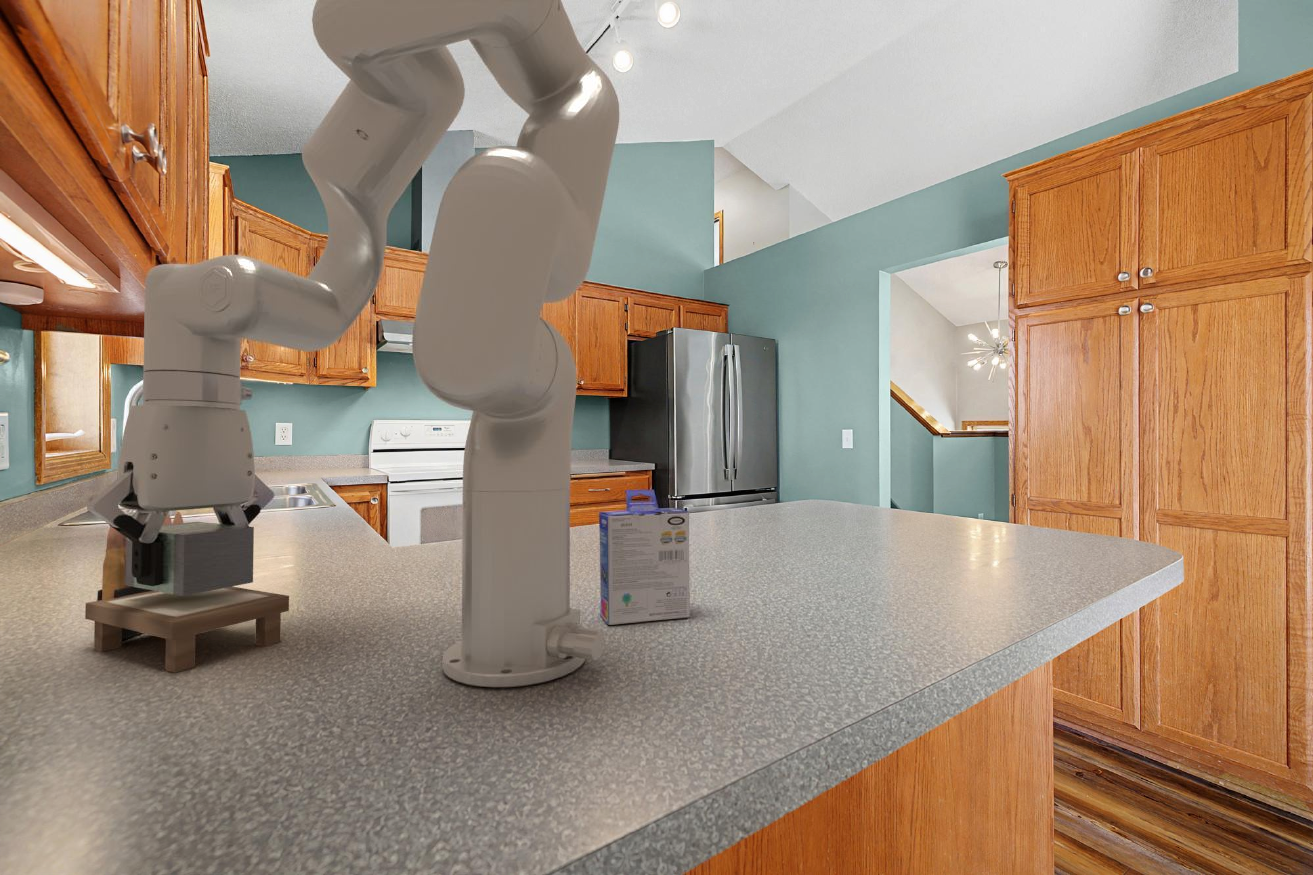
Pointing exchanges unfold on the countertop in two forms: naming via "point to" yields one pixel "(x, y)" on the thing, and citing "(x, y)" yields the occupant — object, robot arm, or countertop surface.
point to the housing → (200, 558)
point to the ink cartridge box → (644, 562)
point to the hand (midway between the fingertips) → (190, 575)
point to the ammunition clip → (121, 569)
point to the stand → (185, 618)
